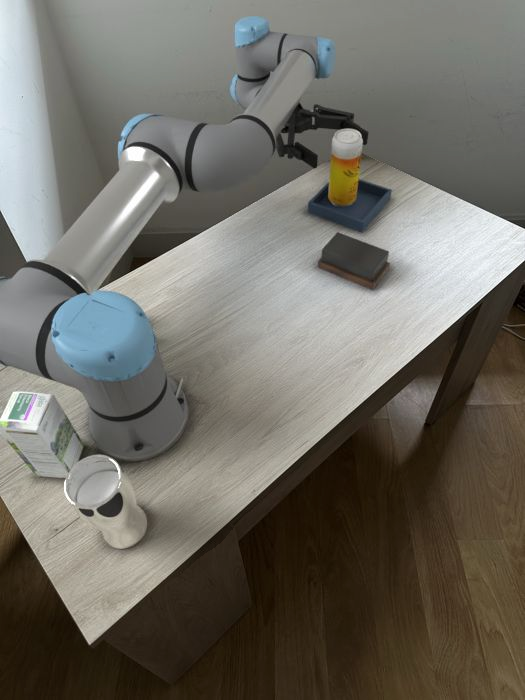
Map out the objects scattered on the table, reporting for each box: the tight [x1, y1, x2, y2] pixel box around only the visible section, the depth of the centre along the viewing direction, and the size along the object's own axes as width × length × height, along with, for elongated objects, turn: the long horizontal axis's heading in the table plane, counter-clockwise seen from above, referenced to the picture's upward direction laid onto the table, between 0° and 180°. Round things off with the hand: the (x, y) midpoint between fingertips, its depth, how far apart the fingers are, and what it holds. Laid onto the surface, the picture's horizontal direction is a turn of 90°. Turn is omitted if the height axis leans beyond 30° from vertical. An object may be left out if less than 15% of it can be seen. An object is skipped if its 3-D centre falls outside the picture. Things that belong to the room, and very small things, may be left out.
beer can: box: [328, 129, 364, 207], centre depth 108 cm, size 6×6×15 cm
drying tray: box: [307, 178, 393, 234], centre depth 112 cm, size 13×13×3 cm
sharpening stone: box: [317, 231, 391, 291], centre depth 99 cm, size 12×7×4 cm, turn 56°
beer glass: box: [63, 454, 148, 550], centre depth 65 cm, size 7×7×15 cm
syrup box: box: [0, 391, 85, 479], centre depth 72 cm, size 6×6×14 cm
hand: (341, 150), depth 106 cm, fingers open, 13 cm apart
